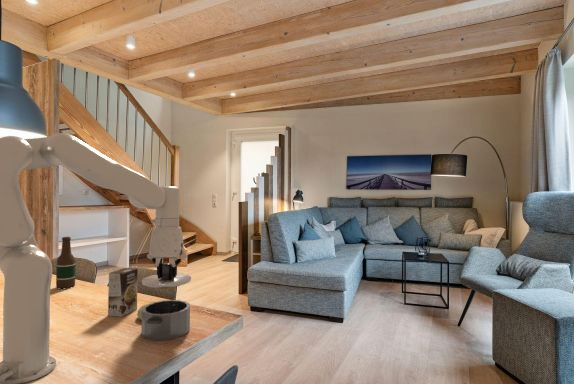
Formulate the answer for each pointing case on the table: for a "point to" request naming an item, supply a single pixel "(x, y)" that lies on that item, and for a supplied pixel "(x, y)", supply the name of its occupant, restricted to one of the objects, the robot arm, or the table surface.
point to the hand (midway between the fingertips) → (166, 277)
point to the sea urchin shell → (140, 312)
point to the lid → (166, 278)
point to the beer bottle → (65, 266)
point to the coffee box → (122, 292)
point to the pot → (165, 320)
